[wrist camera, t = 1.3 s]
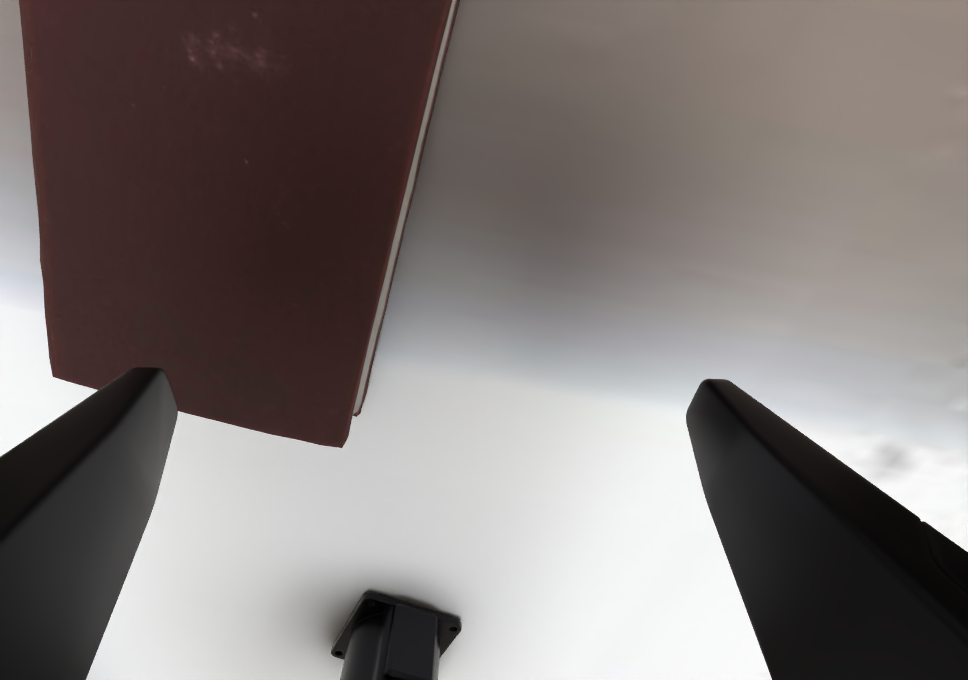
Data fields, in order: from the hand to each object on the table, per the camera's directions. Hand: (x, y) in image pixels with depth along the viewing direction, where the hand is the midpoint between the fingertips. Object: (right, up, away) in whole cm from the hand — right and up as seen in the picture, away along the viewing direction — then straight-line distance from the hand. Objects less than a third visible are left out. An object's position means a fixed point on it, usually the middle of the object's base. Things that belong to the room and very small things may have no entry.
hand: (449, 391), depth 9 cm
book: (-8, +7, +12) cm, 16 cm away
